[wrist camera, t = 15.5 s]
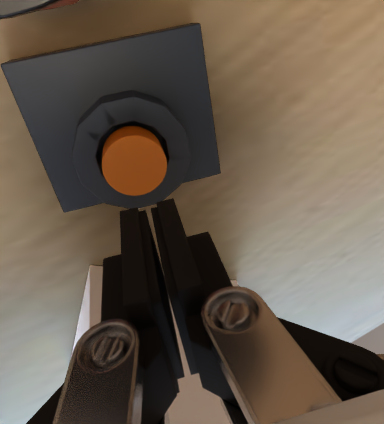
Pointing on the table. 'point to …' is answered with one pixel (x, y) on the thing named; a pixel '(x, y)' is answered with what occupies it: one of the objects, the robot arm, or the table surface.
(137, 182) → the button
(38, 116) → the control block
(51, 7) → the red open cylinder cup
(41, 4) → the lid
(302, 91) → the table surface
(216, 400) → the milk
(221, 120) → the table surface
